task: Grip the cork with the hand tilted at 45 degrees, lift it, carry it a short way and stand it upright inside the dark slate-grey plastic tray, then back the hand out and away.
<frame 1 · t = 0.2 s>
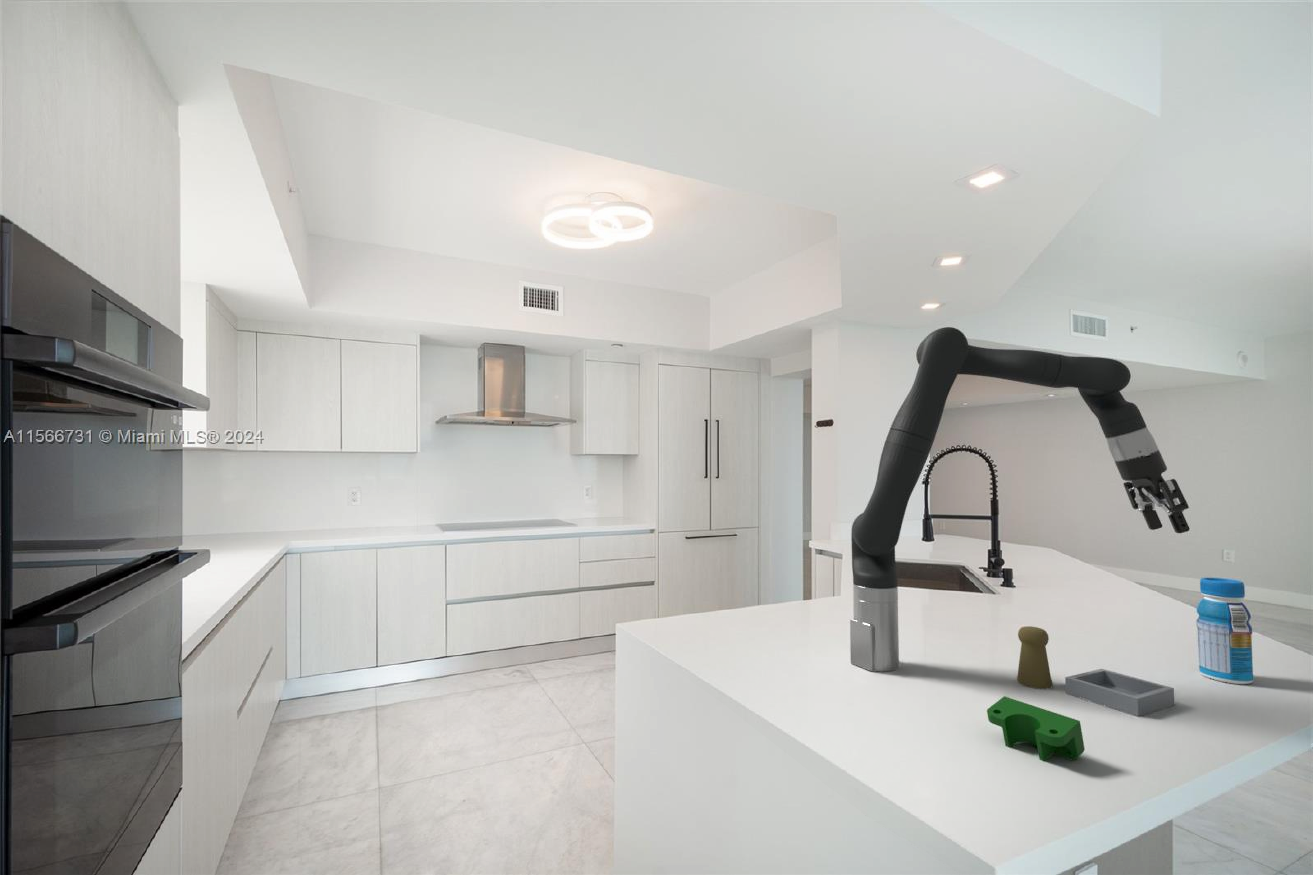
hand: (1169, 530, 121), 31 cm above the worktop, tool tilted 20°, fingers open, 8 cm apart
clamp: (1033, 751, 92), on the worktop
cork: (1034, 684, 121), on the worktop
beverage bottle: (1226, 679, 125), on the worktop
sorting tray: (1118, 699, 113), on the worktop
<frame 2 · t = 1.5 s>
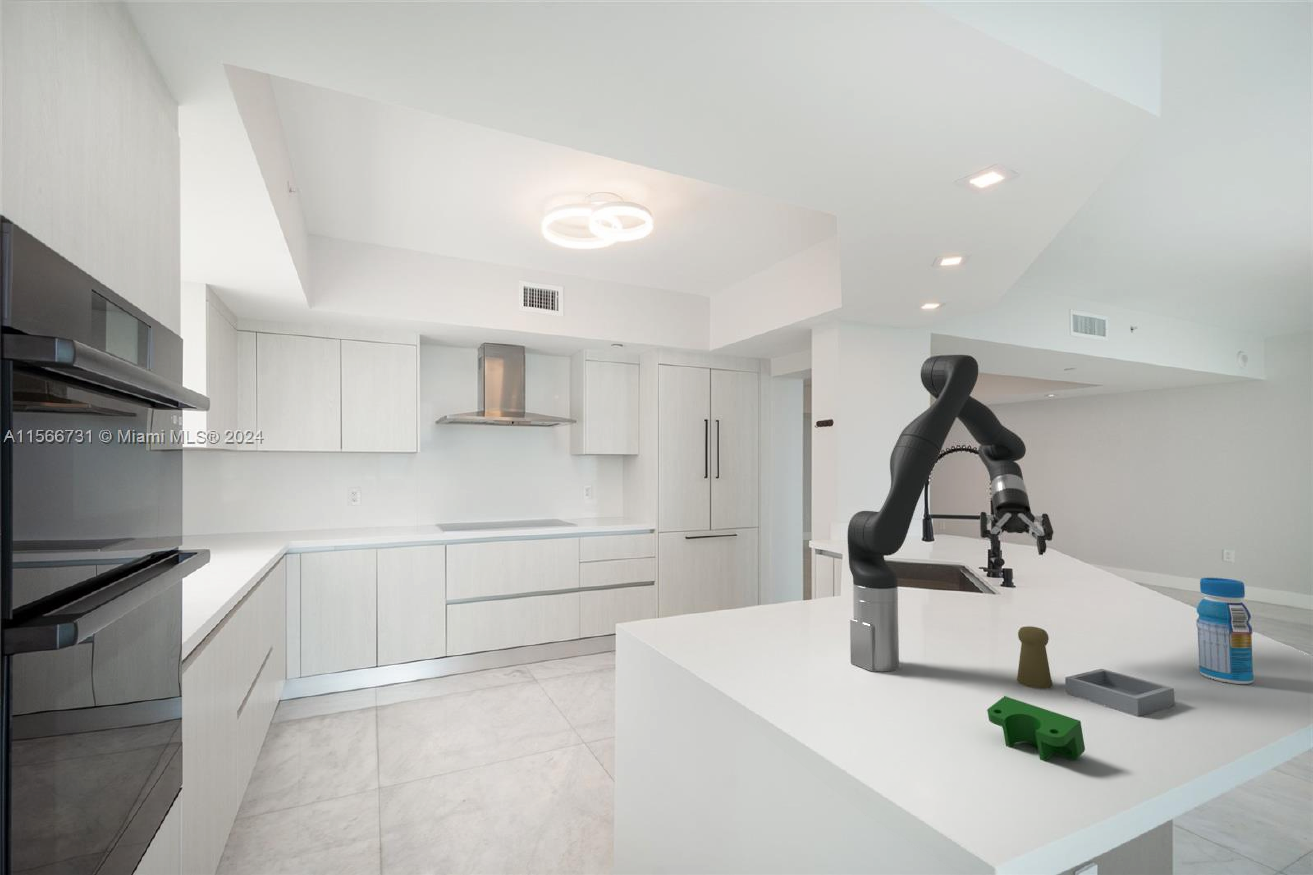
hand: (1019, 551, 135), 24 cm above the worktop, tool tilted 45°, fingers open, 8 cm apart
nothing on the worktop moved.
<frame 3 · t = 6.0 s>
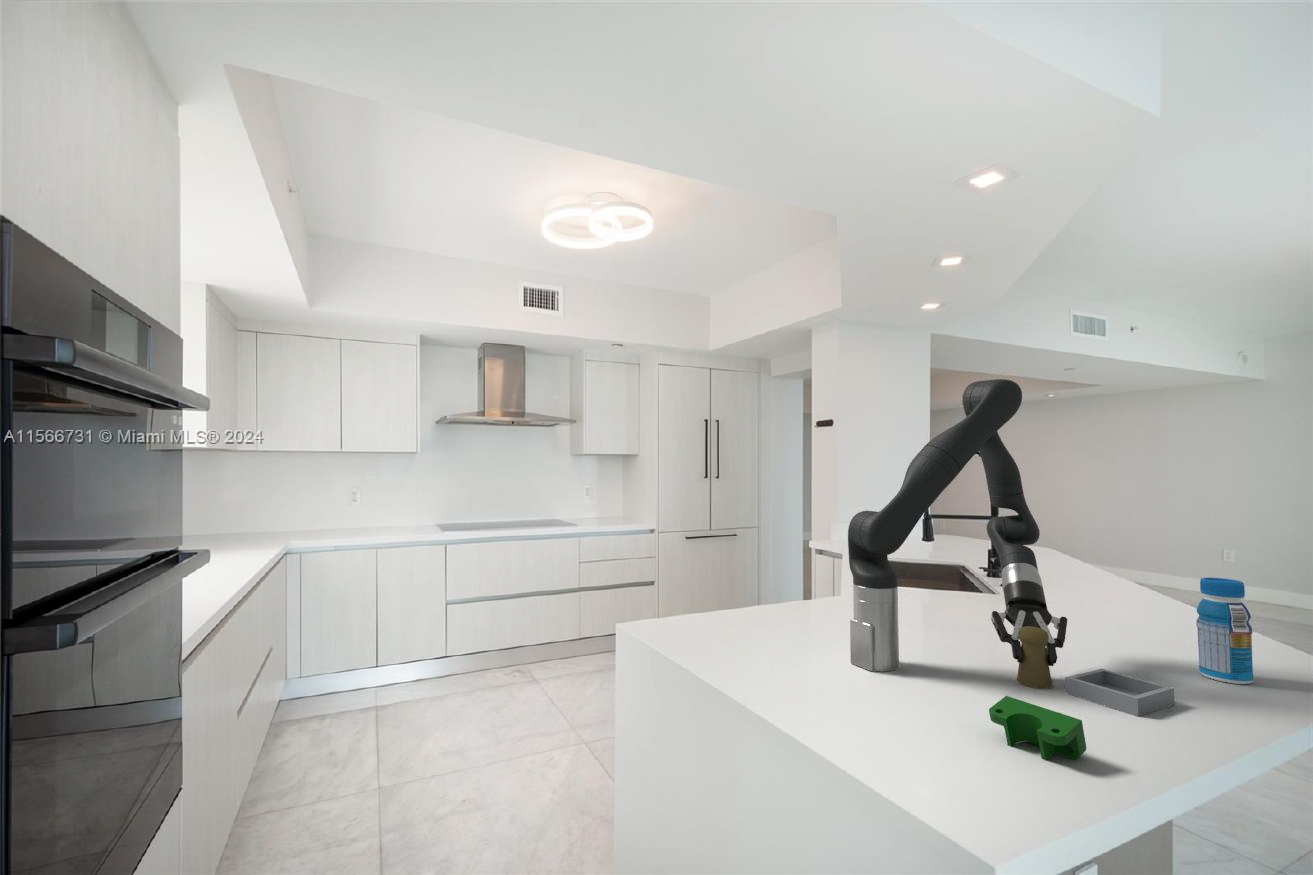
hand: (1035, 661, 120), 5 cm above the worktop, tool tilted 45°, fingers closed on cork, 4 cm apart
cork: (1034, 684, 121), on the worktop, touching gripper
everything else where it was.
when the fingers open (7 cm above the worktop, at t = 11.4 s): cork drops 1 cm, resting on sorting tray.
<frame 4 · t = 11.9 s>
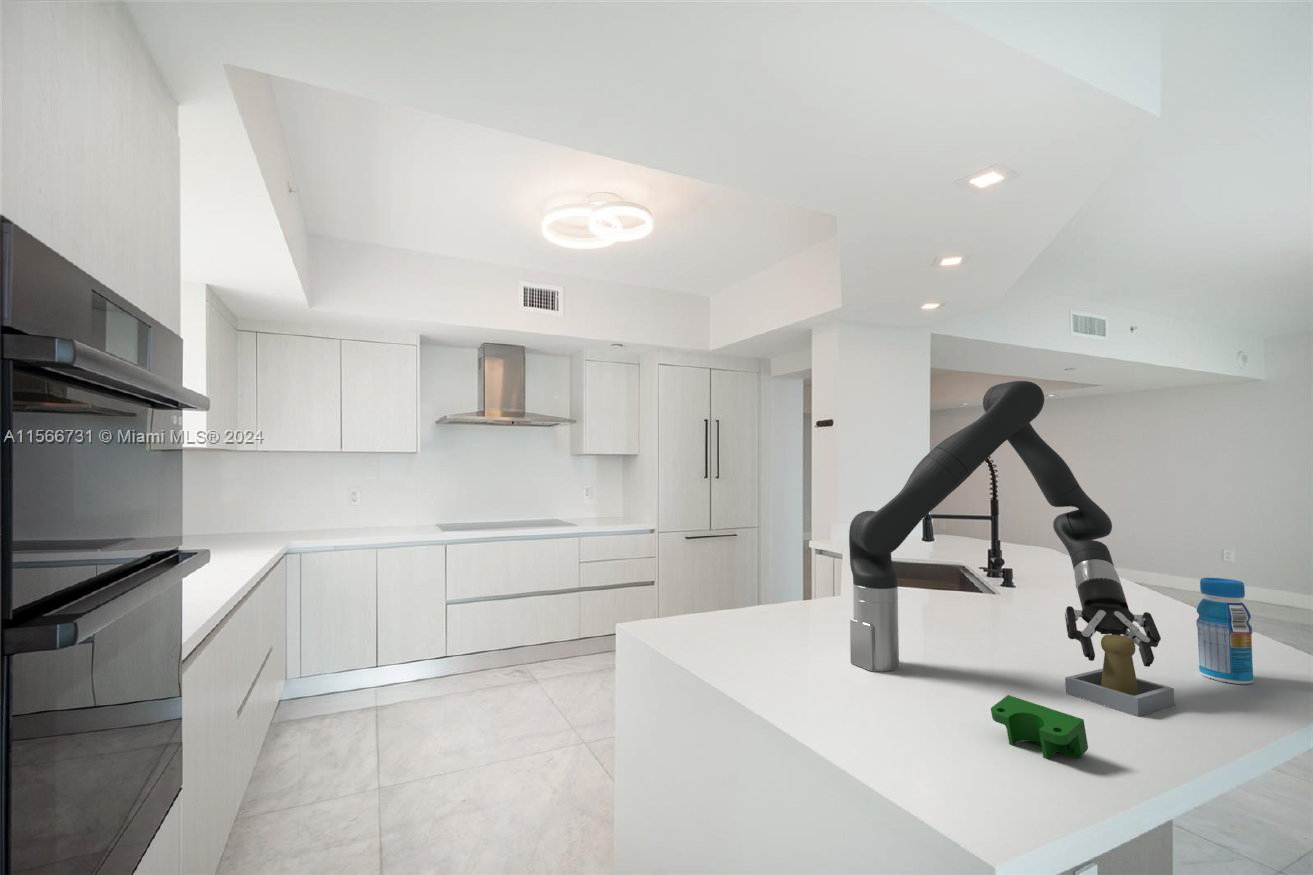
hand: (1119, 661, 112), 7 cm above the worktop, tool tilted 45°, fingers open, 8 cm apart
cork: (1119, 696, 113), resting on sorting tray
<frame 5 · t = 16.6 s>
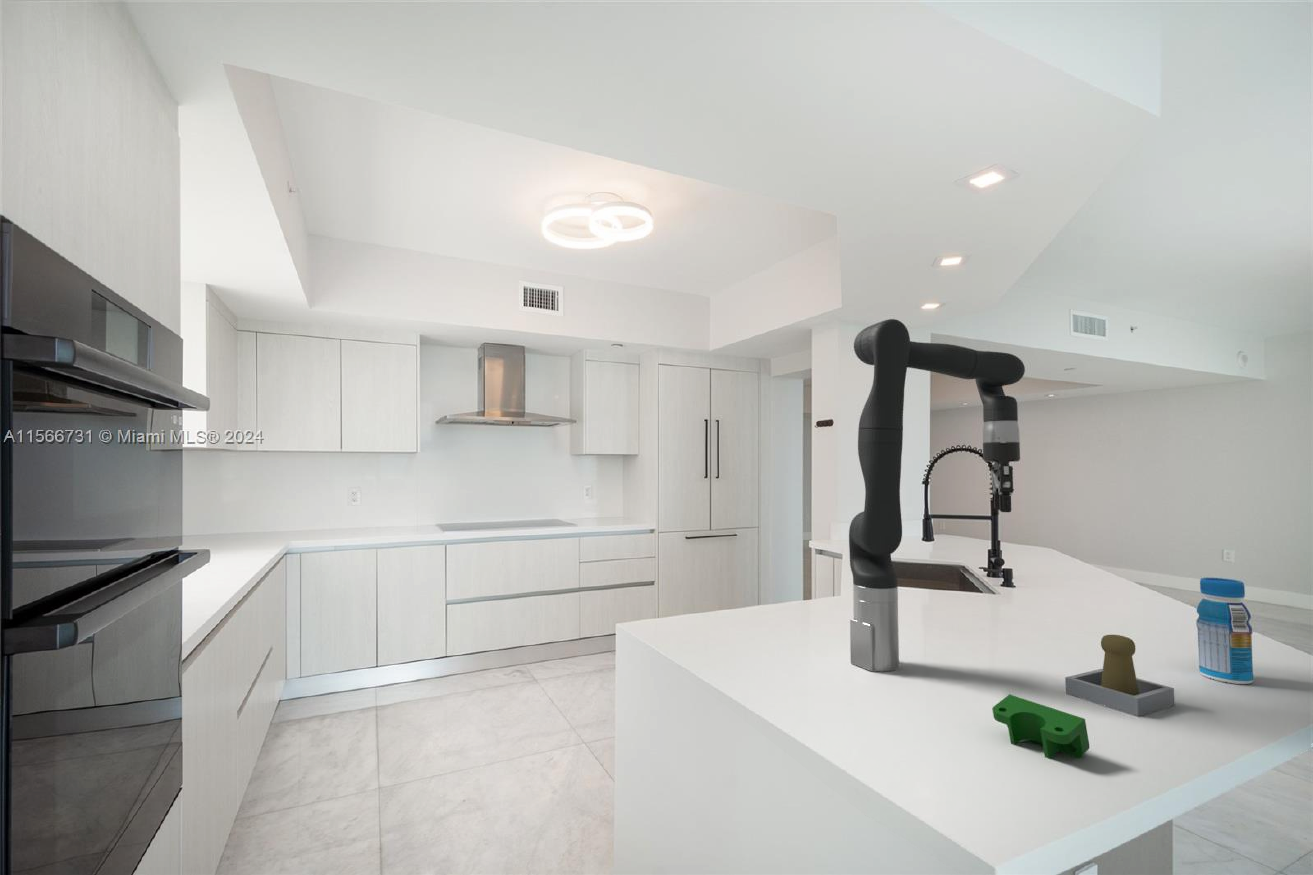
hand: (1002, 510, 141), 33 cm above the worktop, tool pointing down, fingers open, 8 cm apart
at the end: cork inside the target area on the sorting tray (0.5 cm from its centre), point 0.3 cm above the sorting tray's base; cork tilted 0°; the gripper is holding nothing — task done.
